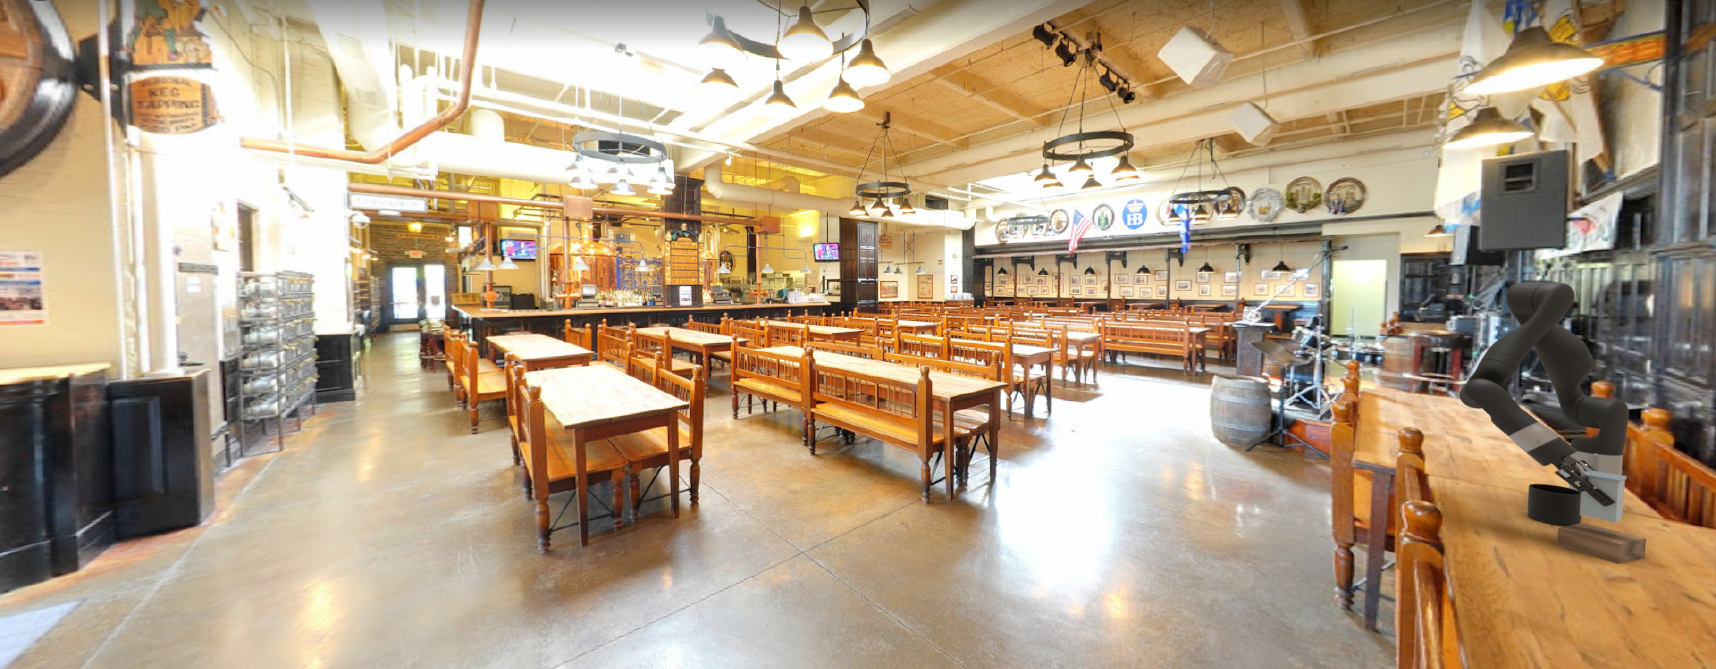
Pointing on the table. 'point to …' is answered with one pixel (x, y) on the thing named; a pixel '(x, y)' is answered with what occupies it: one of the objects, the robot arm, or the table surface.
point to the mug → (1554, 504)
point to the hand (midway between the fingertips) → (1613, 502)
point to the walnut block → (1602, 542)
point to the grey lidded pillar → (1610, 487)
